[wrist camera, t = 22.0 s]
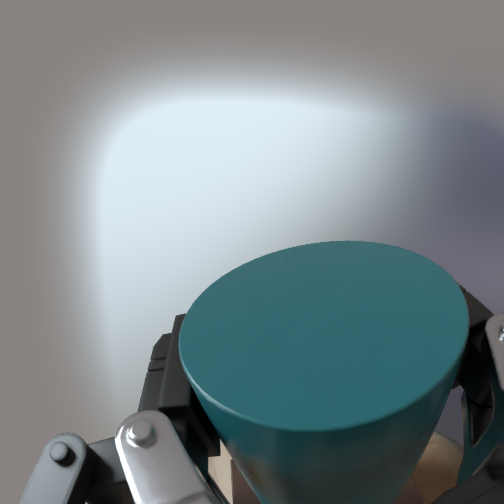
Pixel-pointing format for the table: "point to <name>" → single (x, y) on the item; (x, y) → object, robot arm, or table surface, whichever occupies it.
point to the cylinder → (326, 367)
